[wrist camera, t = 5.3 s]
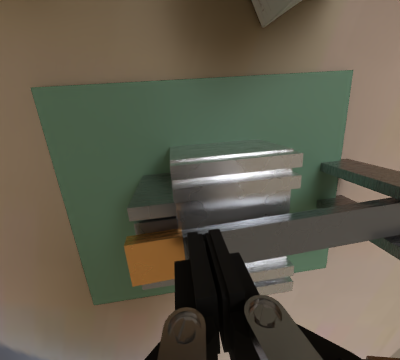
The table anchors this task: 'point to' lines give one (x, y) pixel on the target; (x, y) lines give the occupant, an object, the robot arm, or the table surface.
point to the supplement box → (272, 9)
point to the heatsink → (243, 195)
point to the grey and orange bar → (266, 237)
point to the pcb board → (179, 136)
